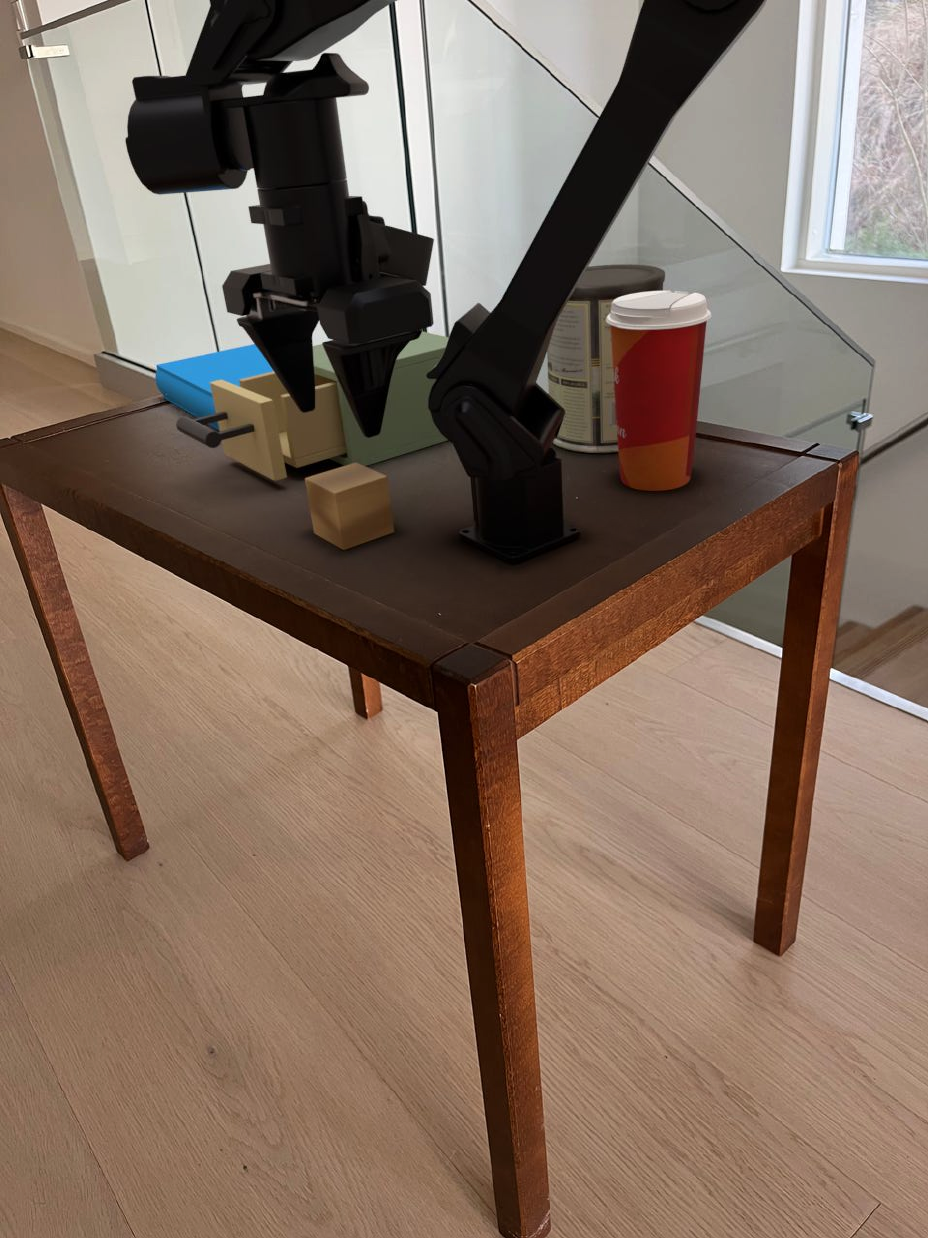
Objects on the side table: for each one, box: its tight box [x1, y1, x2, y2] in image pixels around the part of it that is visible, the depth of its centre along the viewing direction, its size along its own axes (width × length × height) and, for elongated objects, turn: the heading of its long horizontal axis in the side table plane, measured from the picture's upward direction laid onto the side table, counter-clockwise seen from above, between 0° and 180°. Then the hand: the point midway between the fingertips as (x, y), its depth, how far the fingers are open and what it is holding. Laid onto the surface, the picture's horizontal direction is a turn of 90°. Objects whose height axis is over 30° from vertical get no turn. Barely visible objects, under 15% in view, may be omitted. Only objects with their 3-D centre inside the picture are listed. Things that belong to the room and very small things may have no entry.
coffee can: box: [546, 264, 666, 454], centre depth 84 cm, size 10×10×14 cm
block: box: [304, 463, 395, 551], centre depth 71 cm, size 4×4×4 cm
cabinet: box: [313, 331, 449, 467], centre depth 90 cm, size 14×12×9 cm
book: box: [155, 343, 273, 432], centre depth 105 cm, size 17×4×25 cm
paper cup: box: [606, 290, 712, 492], centre depth 73 cm, size 8×8×14 cm
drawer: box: [175, 371, 347, 482], centre depth 85 cm, size 17×10×7 cm, turn 127°
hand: (338, 422), depth 68 cm, fingers open, 9 cm apart
